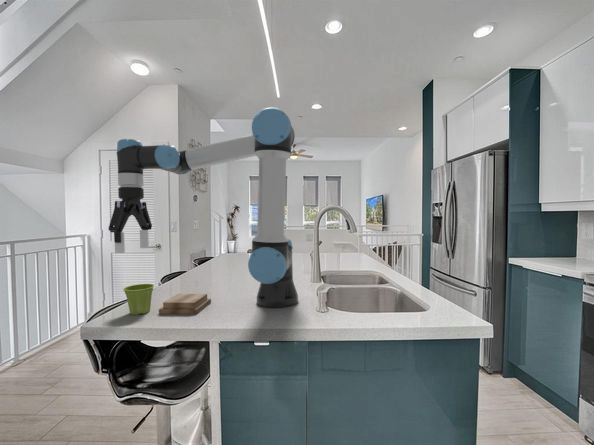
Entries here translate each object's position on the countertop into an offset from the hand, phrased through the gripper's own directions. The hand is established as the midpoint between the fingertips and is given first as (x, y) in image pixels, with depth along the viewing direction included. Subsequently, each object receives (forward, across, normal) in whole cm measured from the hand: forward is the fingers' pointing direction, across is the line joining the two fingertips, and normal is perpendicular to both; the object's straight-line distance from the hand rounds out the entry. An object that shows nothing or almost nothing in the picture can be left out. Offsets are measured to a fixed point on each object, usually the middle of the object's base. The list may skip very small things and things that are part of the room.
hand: (132, 250), depth 106 cm
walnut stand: (+21, -5, +16) cm, 27 cm away
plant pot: (+21, 0, +2) cm, 21 cm away
